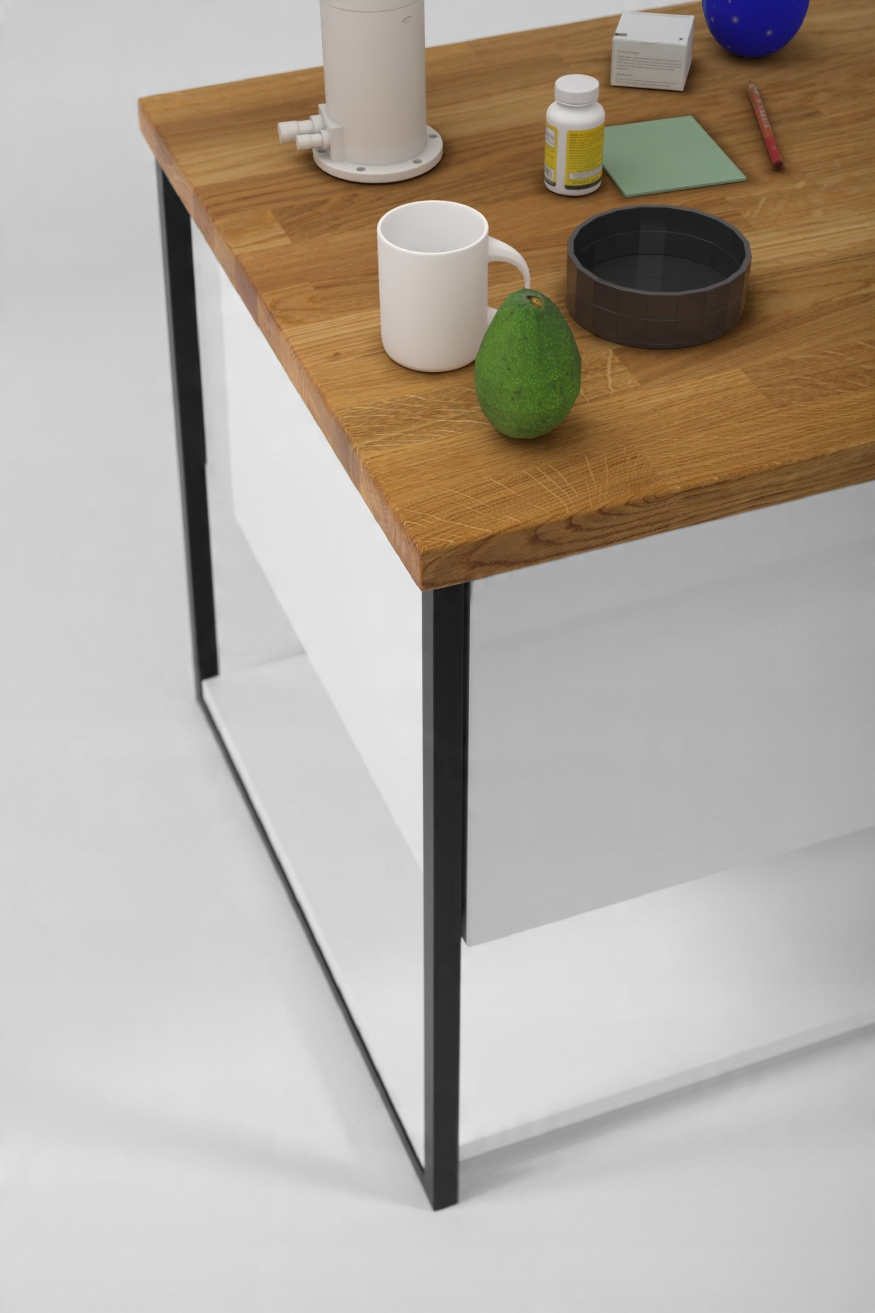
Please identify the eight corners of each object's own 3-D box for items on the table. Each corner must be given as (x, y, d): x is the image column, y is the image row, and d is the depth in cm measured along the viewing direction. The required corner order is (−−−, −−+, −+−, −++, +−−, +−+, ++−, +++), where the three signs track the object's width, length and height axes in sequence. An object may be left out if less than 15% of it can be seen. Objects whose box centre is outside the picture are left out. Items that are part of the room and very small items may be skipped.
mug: (533, 371, 130) (538, 250, 122) (383, 377, 129) (378, 256, 122) (523, 314, 136) (527, 196, 129) (379, 320, 136) (375, 201, 128)
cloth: (625, 197, 151) (626, 194, 151) (577, 133, 161) (577, 130, 161) (746, 180, 153) (746, 177, 153) (690, 118, 163) (691, 115, 163)
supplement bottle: (611, 179, 154) (618, 78, 147) (583, 203, 150) (589, 100, 144) (561, 166, 156) (565, 65, 149) (532, 188, 152) (535, 87, 146)
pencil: (783, 170, 154) (784, 160, 154) (772, 170, 154) (773, 160, 154) (754, 85, 168) (755, 76, 167) (743, 85, 168) (745, 76, 167)
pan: (599, 361, 131) (603, 306, 127) (542, 270, 141) (544, 217, 138) (772, 333, 133) (780, 279, 130) (703, 246, 144) (709, 194, 141)
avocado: (483, 466, 121) (485, 324, 112) (465, 406, 126) (465, 268, 118) (589, 455, 121) (598, 314, 113) (566, 396, 127) (573, 258, 119)
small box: (692, 62, 173) (697, 13, 169) (683, 93, 167) (688, 44, 164) (619, 56, 174) (622, 8, 171) (608, 86, 169) (611, 37, 165)
